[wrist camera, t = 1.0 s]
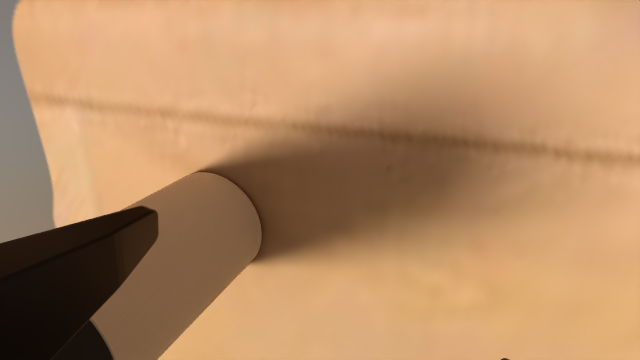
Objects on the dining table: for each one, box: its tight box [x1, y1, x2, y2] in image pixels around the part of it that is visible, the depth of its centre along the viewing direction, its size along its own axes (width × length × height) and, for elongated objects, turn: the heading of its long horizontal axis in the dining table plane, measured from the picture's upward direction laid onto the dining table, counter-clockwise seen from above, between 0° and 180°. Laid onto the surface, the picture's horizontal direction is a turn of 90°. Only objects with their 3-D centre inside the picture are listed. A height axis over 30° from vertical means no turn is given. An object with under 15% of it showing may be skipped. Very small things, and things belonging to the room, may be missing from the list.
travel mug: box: [51, 172, 262, 360], centre depth 22 cm, size 8×8×18 cm
